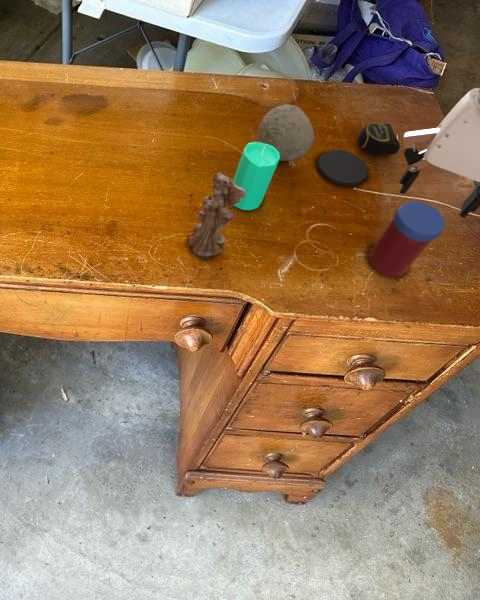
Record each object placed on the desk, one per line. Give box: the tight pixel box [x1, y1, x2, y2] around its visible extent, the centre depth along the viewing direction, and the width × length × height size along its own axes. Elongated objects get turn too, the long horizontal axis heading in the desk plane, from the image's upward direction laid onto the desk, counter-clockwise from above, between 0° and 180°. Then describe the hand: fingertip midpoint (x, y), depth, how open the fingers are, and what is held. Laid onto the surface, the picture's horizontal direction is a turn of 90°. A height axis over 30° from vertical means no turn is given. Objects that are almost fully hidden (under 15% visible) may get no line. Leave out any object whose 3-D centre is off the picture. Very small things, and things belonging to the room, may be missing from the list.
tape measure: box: [357, 122, 401, 157], centre depth 110 cm, size 7×7×4 cm
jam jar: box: [367, 218, 433, 277], centre depth 91 cm, size 6×6×10 cm
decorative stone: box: [257, 103, 315, 162], centre depth 105 cm, size 10×8×10 cm
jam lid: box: [392, 200, 446, 242], centre depth 87 cm, size 7×7×2 cm
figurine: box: [188, 171, 246, 259], centre depth 90 cm, size 7×6×15 cm
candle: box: [233, 141, 280, 211], centre depth 98 cm, size 6×6×12 cm
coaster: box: [317, 149, 368, 187], centre depth 108 cm, size 9×9×1 cm
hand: (433, 199), depth 83 cm, fingers open, 8 cm apart
